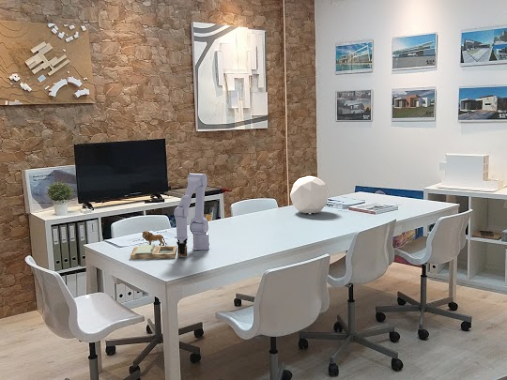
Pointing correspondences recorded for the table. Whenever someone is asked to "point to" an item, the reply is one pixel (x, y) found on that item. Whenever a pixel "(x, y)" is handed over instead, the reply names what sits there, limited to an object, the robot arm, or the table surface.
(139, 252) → the lid
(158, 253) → the wooden frame
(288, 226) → the table surface
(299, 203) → the geometric form
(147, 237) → the lion figurine
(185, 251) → the walnut cube
